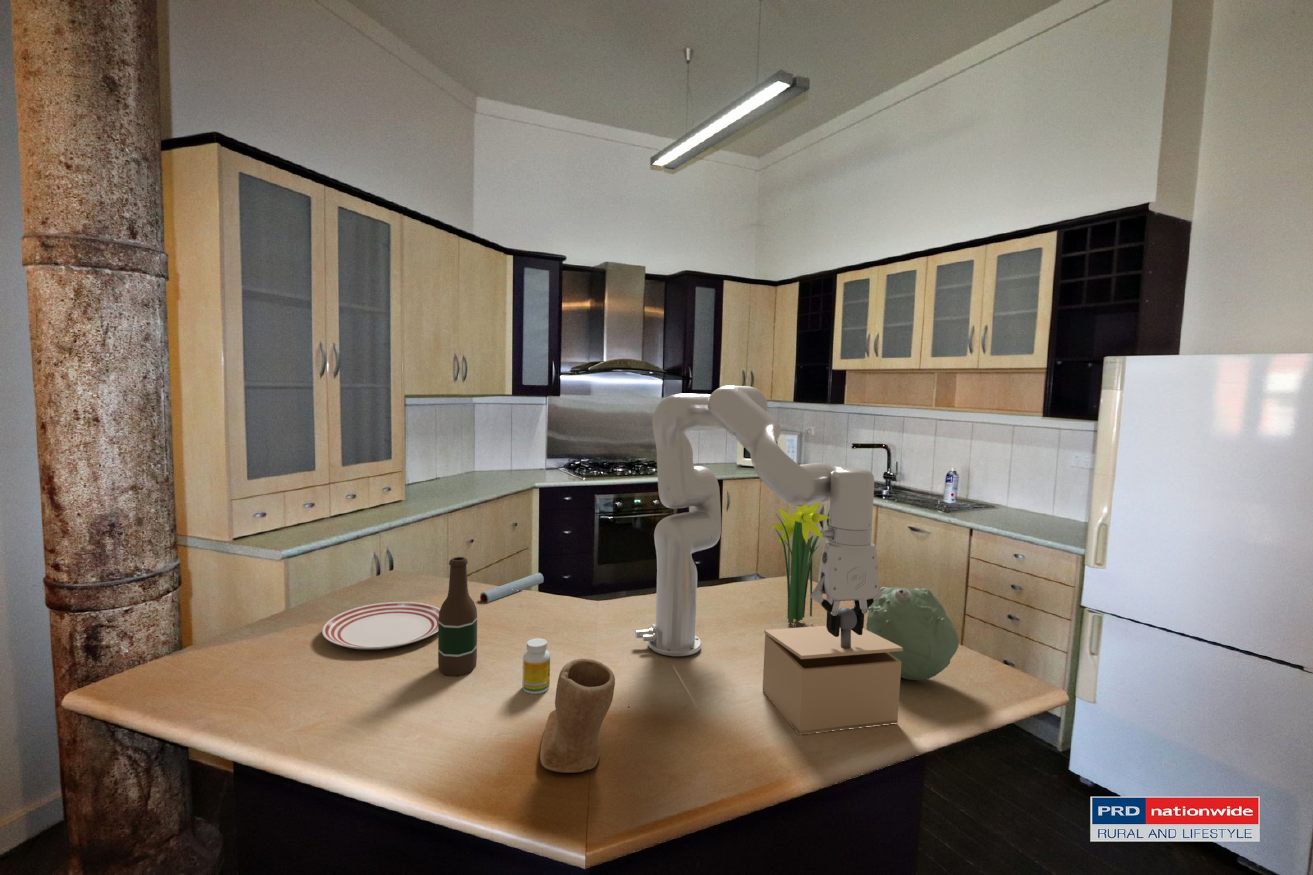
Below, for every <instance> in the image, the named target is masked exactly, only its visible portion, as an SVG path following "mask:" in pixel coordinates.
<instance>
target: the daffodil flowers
mask: <svg viewBox="0 0 1313 875" xmlns="http://www.w3.org/2000/svg"><path fill="white" fill-rule="evenodd" d="M821 504H822V502H820V503H813V504H811V506H809V504H808V505H803V506H798V507H797V510H796V512H792V513H788V512H786V511H785V510H784V509H782V508H781V507H780V508H778V512H779V513H780V515H781V518H782V519H783V520H782V519H781V518H780V517H779V516H778V514H777V513H775V514H776V517H777V518H778V520H779V521H780V523H777V524H773V525H770V526H769V527H770V528H772V529H773V530H775V532H776V533H777V535H778V536H779V539H778V540H777V543H778V544H779V543H781V544H782V548H783V555H784V561H785V573H786V584H787V585H786V586H787V588H786V589H787V616H786V617H787V623H789V624H794V620H795V622H801V621H803V619H804V618H805V614H806V613H805V612H806V602H807V601H806V600H807V593H808V592H807V591H808V584H810V585H809V586H810V587H809V592H810V595H809V597H810V598H809V616H810V617H813V599H812V598H811V594H812V592H813V558H814V557H813V556H814V553H815V552H816V550H817V549H818V548H819V547H820V545H821V544H819V545H817V542H818V539H819V538H822V539H823V538H824V537H823V535H822V532H823V530H824V528H822V529H821V530H820V529H819V527H818V526H817V524H818V523H819V522H822V521H825V520H829V515H824V514H822V513H818V512H817V510H818V509H819V507H820V505H821ZM783 521H784V522H783ZM779 531H780V532H783V534H782V535H781V533H780V532H779ZM810 531H811V532H812V534H813V535H811V537H810V538H809V535H810ZM814 535H815V538H814ZM791 537H792V543H791V545H790V538H791ZM813 538H814V540H813ZM777 543H776V544H777ZM816 545H817V547H816ZM786 546H787V550H786ZM790 558H791V560H790ZM790 561H791V563H790Z"/></svg>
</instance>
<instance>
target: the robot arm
mask: <svg viewBox="0 0 1313 875" xmlns="http://www.w3.org/2000/svg"><path fill="white" fill-rule="evenodd" d="M768 406H769V405H768V400H767V398H766V396H765V394H764V393H763V392H762V391H761V390H759V389H758V388H756V387H753V386H747V385H723V386H721V387H718V388H717V389H715V390H714V391H713V392H712V393H711V394H708V393H676V394H671V395H669V396H667V397H665V398H663V399H662V400H661V401H660V402H659V403H658V404H657V406H656V408H655V410H654V412H653V417H652V433H653V438H654V442H655V450H656V467H657V488H658V490H657V491H658V497H659V500H660V503H661V505H663V506H664V507H666V508H668V509H673V510H676V509H684V508H685V509H686V508H688V512H681V513H676V514H670V515H668V516H665V517H664V518H662V519H661V520H660V521H658V522H657V524H656V526H655V529H654V533H653V538H654V546H655V554H656V570H657V571H656V597H655V598H656V601H655V623H652V624H651V627H648V628H647V629H643V628H642V629H635V633H634V634H635V639H642V641H643V642H647V643H648V647H649V648H650V650H652V651H653V652H655V653H656V654H660V655H664V656H669V657H686V656H687V657H688V656H690V655H694V654H696V653H698V652H699V651H700V650H701V647H702V640H701V639H700V637H698V636H697V635H696V622H697V621H696V620H697V619H696V618H697V617H696V616H697V614H696V613H697V596H698V594H697V593H698V592H697V591H698V570H697V569H698V568H697V566H696V564H695V561H694V559H693V557H692V554H694V553H696V552H701V551H703V550H707V549H708V550H709V549H710V548H713V547H714V546H716V545H717V544H718V542H719V540H720V538H721V533H722V513H721V495H720V494H721V493H720V485H719V482H718V479H717V477H716V475H715V473H714V472H713V471H712V470H711V469H710V468H708V467H706V466H702V465H695V466H694V457H693V456H694V453H693V452H694V451H693V446H692V443H691V442H690V440H689V438H688V436H687V435H686V434H685V433H686V432H688V431H714V430H715V431H716V430H725V431H726V432H727V433H728V434H729V435H731V436H732V438H734V439H735V440H736V441H737V442H738V443H739V444H740V445H742V447H743V448H745V449H746V451H747V452H748V453H749V454H750V455H749V456H750V461H751V463H752V466H753V468H754V471H755V473H756V475H757V476H758V478H760V481H761V482H762V483H764V484H765V486H766V487H767V488H769V490H771V491H772V492H773V493H774V494H775V495H776V496H778V497H779V498H780V499H781V500H782V501H784V502H785V503H788V505H789V504H790V505H792V506H795V507H799V506H803V505H808V506H809V505H813V504H814V503H820V502H821V503H826V502H829V510H828V511H829V514H828V517H829V518H828V524H827V529H826V530H824V529H823V531H822V533H821V534H822V536H823V538H824V539H826V538H827V540H826V541H824V545H823V548H822V552H821V557H820V562H819V567H818V568H819V569H818V570H819V571H818V578H817V579H818V583H817V585H816V586H815V588H814V589H813V590H812V594H811V598H812V600H813V601H815V602H817V604H819V605H820V606H822V608H823V609H824V611H826V625H825V626H826V627H827V630H828V632H829V633H831V634H832V635H833V636H835V637H838V636H839V632H840V616H839V615H838V614H837V613H838V610H839V609H840V604H841V602H845V601H852V603H853V607H852V608H850V609H851V610H853V611H854V612H855V614H856V616H857V623H856V626H855V627H854V628H853V629H851V630H852V631H854V632H855V633H856V634H858V635H862V633H863V628H864V627H865V626H864V625H865V614H868V612H869V610H868V608H869V607H870V606H871V605H872V604H873V602H874V601H875V600H877V599H878V598H879V597H881V595H882V593H881V591H880V589H879V588H880V587H879V585H880V584H879V580H880V579H879V577H880V576H879V562H878V561H879V560H878V554H877V548H876V545H875V543H873V542H872V535H873V534H872V533H873V513H874V512H873V511H874V497H875V496H874V494H875V475H874V473H872V472H871V471H870V470H868V469H864V468H858V467H857V468H855V467H843V466H837V465H834V464H831V463H827V462H815V463H806V464H805V463H804V464H799V463H797V462H796V461H795V460H794V459H792V458H791V457H790V456H789V455H787V453H785V452H784V450H783V449H782V448H781V447H780V446H779V445H778V443H777V441H778V439H779V438H780V435H781V431H782V427H781V424H780V423H779V421H778V420H776V418H774V417H773V416H772V415H771V414H769V413H768V408H769V407H768ZM823 594H824V595H826V598H824V597H823Z"/></svg>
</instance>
